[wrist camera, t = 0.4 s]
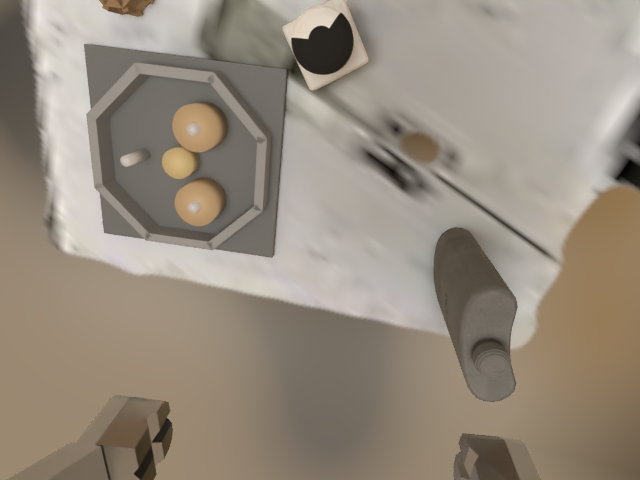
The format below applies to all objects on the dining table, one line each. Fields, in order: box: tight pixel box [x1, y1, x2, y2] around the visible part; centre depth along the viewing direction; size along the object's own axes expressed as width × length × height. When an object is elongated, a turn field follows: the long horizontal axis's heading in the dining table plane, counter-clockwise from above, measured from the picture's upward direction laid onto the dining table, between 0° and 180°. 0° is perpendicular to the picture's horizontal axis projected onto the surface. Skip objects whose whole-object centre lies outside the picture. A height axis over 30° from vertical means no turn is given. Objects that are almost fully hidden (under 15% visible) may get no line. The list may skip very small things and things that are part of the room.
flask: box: [434, 228, 518, 402], centre depth 50 cm, size 15×6×20 cm, turn 10°
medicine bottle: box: [283, 0, 369, 90], centre depth 43 cm, size 7×7×12 cm
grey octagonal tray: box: [84, 44, 288, 257], centre depth 53 cm, size 26×26×6 cm
